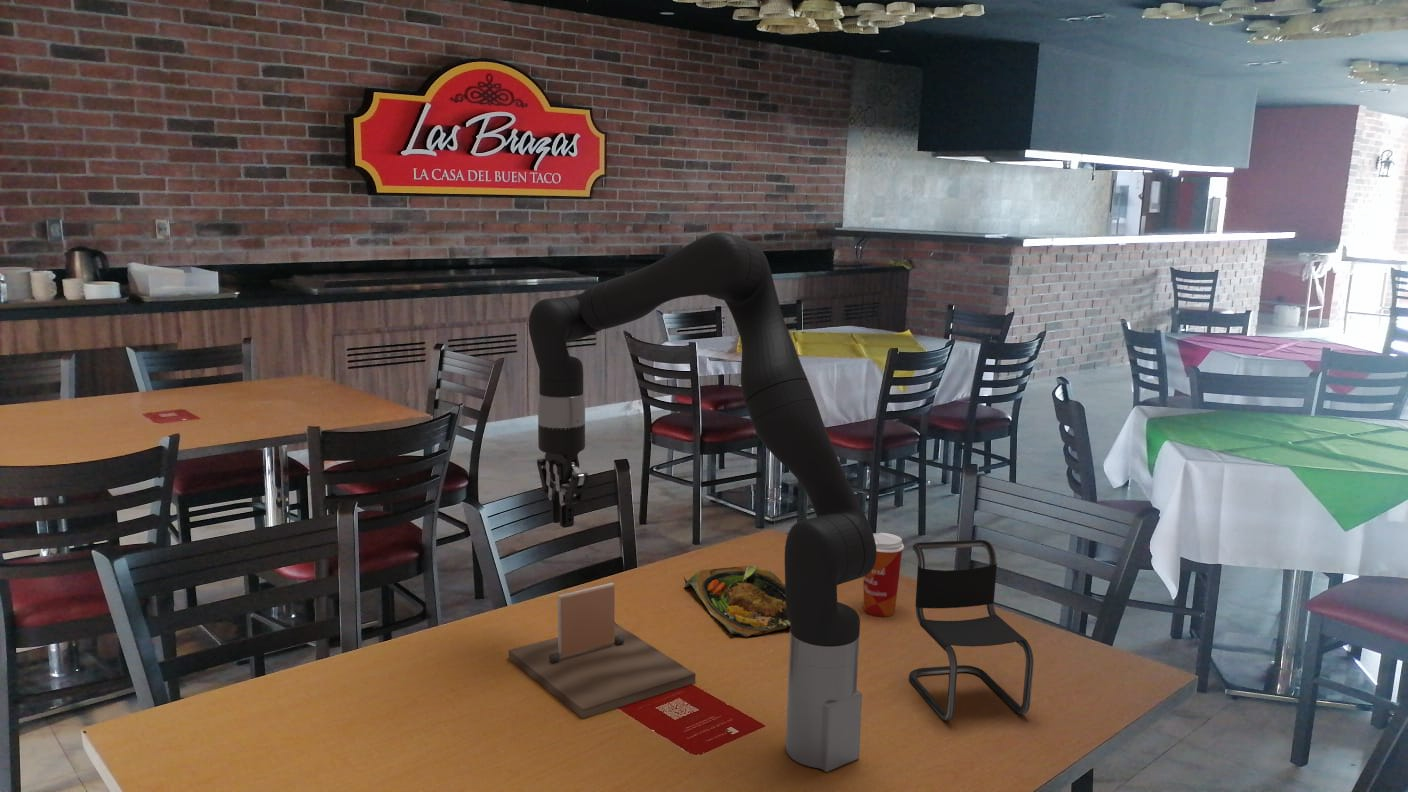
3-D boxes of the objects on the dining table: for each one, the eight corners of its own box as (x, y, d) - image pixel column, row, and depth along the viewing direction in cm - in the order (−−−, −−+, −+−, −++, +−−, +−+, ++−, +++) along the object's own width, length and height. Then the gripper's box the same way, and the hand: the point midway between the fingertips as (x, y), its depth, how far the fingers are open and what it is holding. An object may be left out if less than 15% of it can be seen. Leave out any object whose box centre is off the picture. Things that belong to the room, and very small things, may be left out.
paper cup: (850, 606, 189) (853, 534, 186) (884, 600, 192) (888, 529, 189) (874, 622, 182) (878, 547, 179) (909, 615, 185) (913, 542, 182)
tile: (612, 640, 167) (615, 642, 166) (558, 655, 161) (561, 657, 160) (612, 582, 165) (615, 584, 164) (557, 595, 159) (560, 597, 158)
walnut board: (695, 682, 157) (695, 665, 157) (582, 719, 145) (582, 700, 145) (614, 630, 176) (614, 614, 176) (508, 658, 164) (508, 641, 164)
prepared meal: (827, 609, 179) (733, 620, 172) (826, 628, 179) (732, 640, 173) (763, 562, 205) (679, 570, 198) (763, 579, 205) (679, 588, 199)
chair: (977, 668, 164) (986, 538, 160) (1030, 721, 147) (1042, 577, 143) (901, 673, 162) (909, 542, 158) (947, 728, 145) (956, 582, 141)
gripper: (604, 426, 160) (604, 531, 163) (561, 411, 171) (562, 510, 174) (561, 431, 156) (562, 539, 159) (521, 416, 166) (522, 517, 170)
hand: (562, 523), depth 166 cm, fingers closed
